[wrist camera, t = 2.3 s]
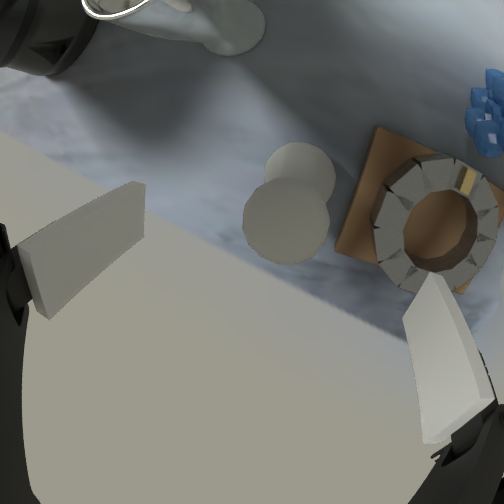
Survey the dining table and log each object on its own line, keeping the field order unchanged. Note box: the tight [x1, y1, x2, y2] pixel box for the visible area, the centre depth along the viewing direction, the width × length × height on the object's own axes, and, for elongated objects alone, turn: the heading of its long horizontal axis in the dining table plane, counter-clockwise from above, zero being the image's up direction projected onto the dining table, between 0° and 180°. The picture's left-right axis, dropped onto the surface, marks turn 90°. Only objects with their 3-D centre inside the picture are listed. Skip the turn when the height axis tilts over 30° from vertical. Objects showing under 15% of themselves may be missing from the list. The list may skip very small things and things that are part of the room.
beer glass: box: [80, 0, 265, 56], centre depth 12 cm, size 7×7×15 cm
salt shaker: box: [242, 142, 336, 264], centre depth 18 cm, size 6×6×13 cm
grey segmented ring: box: [369, 153, 498, 294], centre depth 20 cm, size 12×12×3 cm
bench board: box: [335, 126, 504, 294], centre depth 22 cm, size 16×12×1 cm
